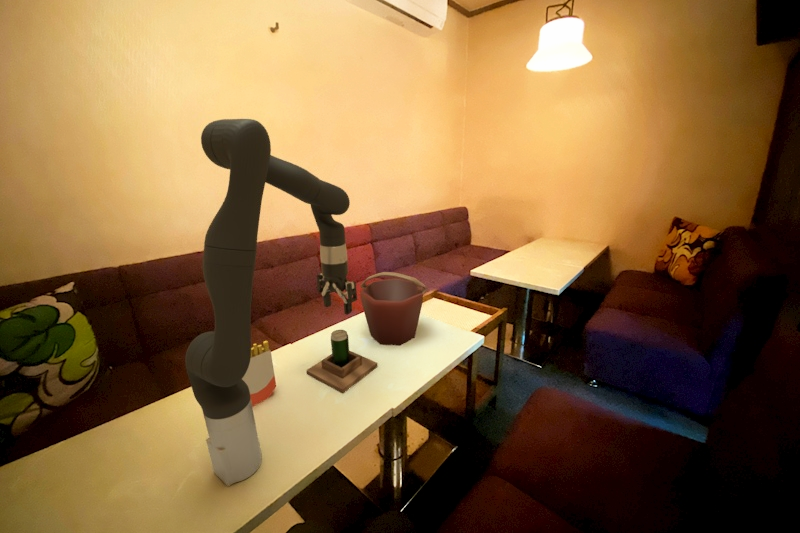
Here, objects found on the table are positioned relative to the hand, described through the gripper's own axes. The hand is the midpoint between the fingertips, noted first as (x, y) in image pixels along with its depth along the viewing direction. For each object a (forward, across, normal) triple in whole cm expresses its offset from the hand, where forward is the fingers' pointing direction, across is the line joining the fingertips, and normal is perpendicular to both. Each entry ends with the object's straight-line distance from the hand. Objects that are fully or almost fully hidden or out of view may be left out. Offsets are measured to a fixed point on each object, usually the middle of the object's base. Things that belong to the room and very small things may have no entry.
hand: (337, 309), depth 106 cm
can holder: (+22, 0, 0) cm, 22 cm away
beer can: (+20, 0, 0) cm, 20 cm away
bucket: (+22, 0, +27) cm, 35 cm away
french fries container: (+22, -11, -24) cm, 34 cm away
